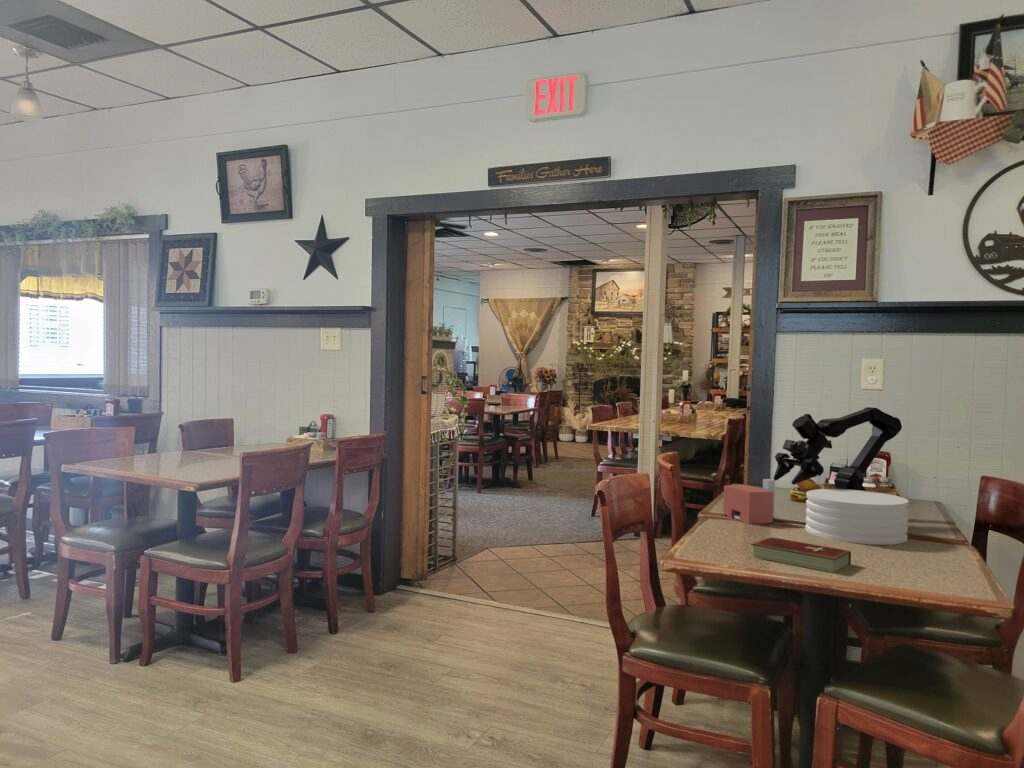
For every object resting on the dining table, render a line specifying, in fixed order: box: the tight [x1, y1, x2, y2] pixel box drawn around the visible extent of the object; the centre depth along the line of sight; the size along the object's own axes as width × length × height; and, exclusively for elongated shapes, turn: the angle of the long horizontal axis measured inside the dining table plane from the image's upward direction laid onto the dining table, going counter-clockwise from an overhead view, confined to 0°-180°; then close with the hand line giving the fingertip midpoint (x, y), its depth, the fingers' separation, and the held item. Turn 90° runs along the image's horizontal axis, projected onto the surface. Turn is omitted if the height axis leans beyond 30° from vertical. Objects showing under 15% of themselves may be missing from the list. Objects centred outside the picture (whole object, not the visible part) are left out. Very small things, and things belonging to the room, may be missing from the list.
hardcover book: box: [750, 536, 852, 573], centre depth 189 cm, size 12×21×4 cm, turn 48°
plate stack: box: [804, 488, 910, 545], centre depth 224 cm, size 28×28×12 cm
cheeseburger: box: [789, 478, 822, 503], centre depth 281 cm, size 10×11×10 cm
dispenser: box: [722, 484, 774, 525], centre depth 243 cm, size 10×14×10 cm
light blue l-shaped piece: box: [733, 478, 776, 520], centre depth 244 cm, size 13×3×12 cm, turn 108°
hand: (783, 481), depth 247 cm, fingers open, 9 cm apart
